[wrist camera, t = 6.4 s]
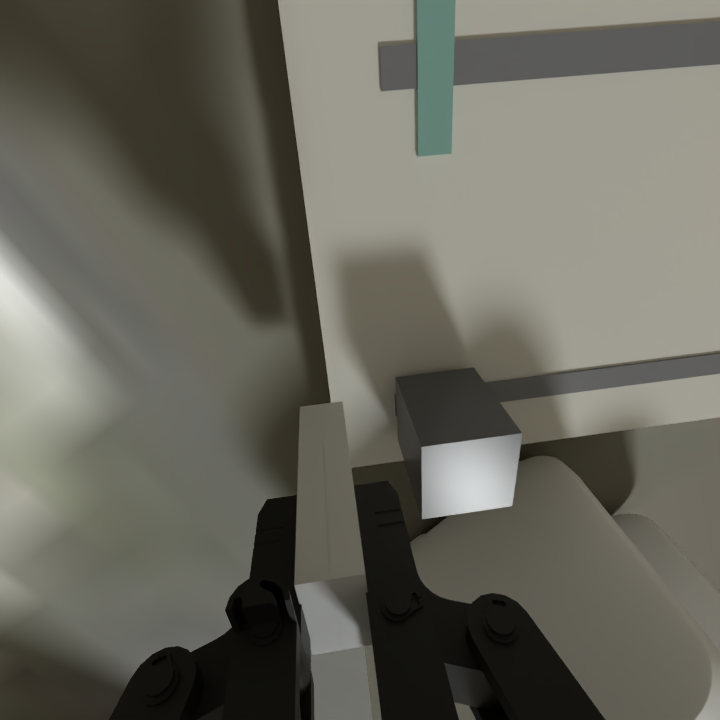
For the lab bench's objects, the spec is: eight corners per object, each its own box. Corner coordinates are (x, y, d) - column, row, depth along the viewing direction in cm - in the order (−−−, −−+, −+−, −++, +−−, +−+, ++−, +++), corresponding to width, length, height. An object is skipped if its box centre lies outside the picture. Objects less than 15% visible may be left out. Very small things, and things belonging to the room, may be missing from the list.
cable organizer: (550, 420, 21) (777, 680, 11) (643, 507, 25) (873, 756, 15) (353, 576, 25) (384, 872, 15) (461, 630, 29) (543, 890, 19)
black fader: (397, 440, 17) (421, 519, 13) (395, 377, 15) (421, 446, 12) (469, 430, 17) (512, 506, 13) (473, 367, 15) (522, 433, 12)
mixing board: (336, 433, 20) (340, 472, 17) (275, -38, 12) (266, -82, 9) (759, 377, 21) (815, 406, 19) (964, -78, 13) (1106, -126, 11)
